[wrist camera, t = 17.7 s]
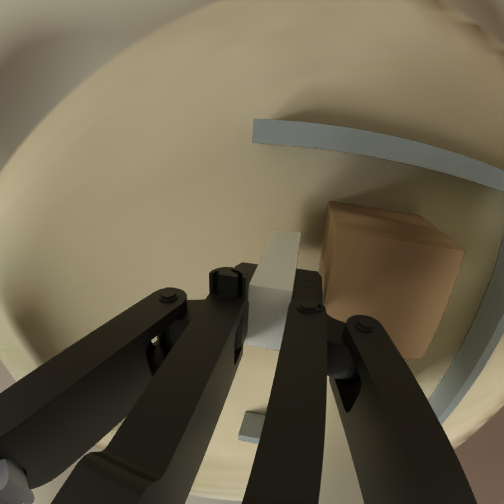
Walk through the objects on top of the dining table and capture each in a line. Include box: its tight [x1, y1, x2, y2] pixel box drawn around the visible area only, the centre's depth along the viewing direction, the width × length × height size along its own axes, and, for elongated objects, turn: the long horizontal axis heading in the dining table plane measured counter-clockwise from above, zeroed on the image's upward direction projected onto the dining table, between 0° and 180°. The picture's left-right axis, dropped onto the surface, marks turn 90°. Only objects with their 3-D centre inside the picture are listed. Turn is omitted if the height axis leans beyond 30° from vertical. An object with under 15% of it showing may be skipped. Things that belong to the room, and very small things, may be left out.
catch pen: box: [238, 119, 504, 444], centre depth 17 cm, size 19×26×3 cm
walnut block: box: [318, 202, 465, 359], centre depth 13 cm, size 6×6×6 cm
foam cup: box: [318, 376, 364, 504], centre depth 14 cm, size 10×9×13 cm
